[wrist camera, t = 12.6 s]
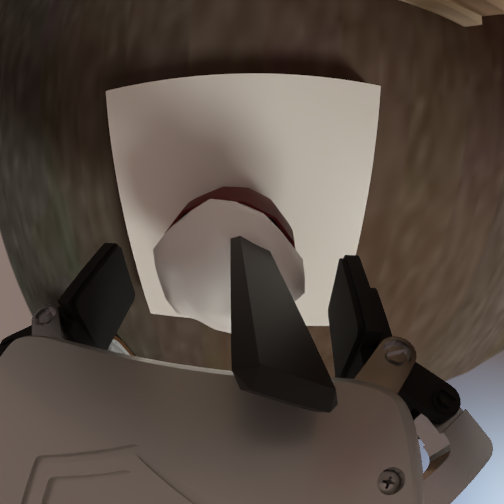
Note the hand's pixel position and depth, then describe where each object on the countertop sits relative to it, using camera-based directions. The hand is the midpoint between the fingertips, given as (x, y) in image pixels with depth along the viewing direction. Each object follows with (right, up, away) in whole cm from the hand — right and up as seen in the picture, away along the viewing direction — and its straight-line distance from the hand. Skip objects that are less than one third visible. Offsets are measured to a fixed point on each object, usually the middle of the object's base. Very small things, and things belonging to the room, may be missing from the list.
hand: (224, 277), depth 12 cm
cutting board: (0, +4, +6) cm, 7 cm away
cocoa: (+1, +3, +4) cm, 5 cm away
